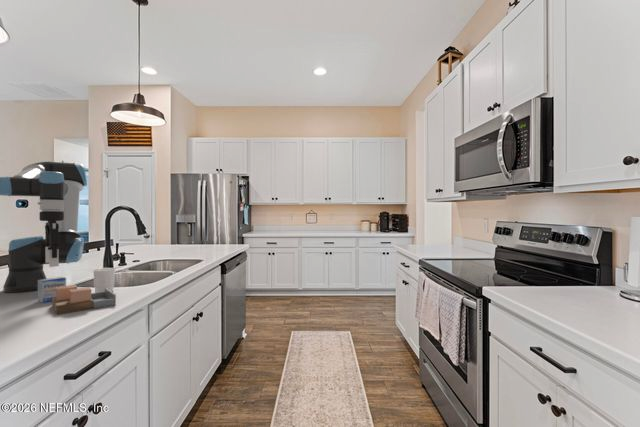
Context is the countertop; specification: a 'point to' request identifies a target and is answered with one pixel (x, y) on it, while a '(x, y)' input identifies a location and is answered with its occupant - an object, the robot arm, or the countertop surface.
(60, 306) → the walnut plate
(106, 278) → the white cup
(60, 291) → the tile
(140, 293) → the countertop surface
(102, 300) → the tray
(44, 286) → the medicine box
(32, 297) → the countertop surface
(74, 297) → the tile
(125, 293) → the countertop surface
